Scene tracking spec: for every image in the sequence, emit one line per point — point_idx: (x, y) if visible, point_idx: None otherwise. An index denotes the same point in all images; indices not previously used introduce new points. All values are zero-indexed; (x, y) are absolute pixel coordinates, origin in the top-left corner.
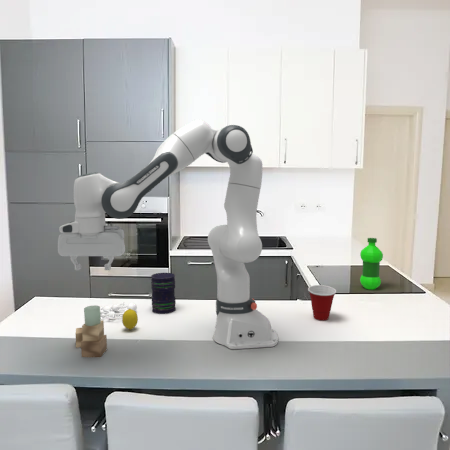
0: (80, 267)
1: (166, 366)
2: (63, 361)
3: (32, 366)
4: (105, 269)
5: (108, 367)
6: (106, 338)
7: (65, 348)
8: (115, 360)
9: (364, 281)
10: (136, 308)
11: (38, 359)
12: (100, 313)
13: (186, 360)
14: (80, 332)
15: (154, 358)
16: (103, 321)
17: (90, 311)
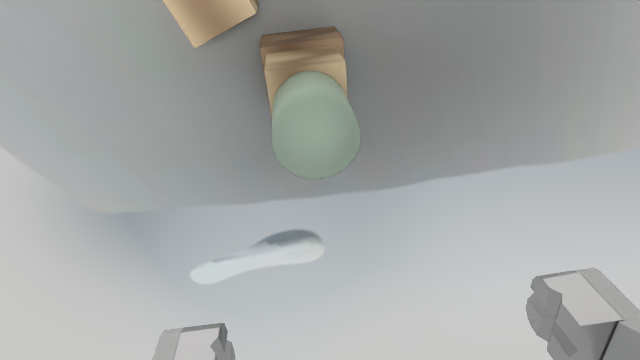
0: (223, 355)
1: (561, 115)
2: (233, 143)
3: (162, 187)
4: (540, 322)
5: (391, 151)
6: (340, 35)
7: (166, 47)
8: (397, 107)
9: None
10: None
11: (140, 146)
12: None
13: (626, 66)
14: (208, 30)
15: (522, 70)
16: (344, 61)
17: (327, 174)
